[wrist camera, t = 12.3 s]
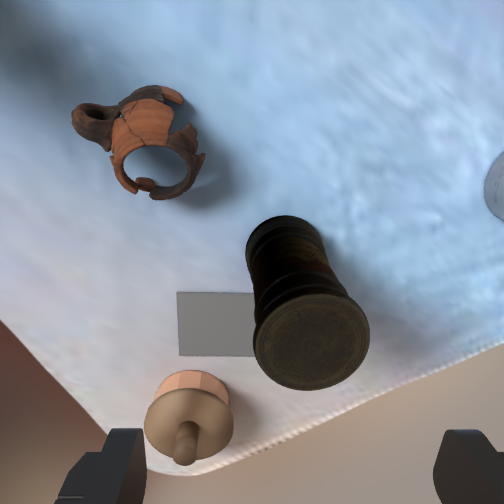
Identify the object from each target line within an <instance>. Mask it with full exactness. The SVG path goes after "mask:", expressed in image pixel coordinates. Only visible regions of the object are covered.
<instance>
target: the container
mask: <svg viewBox="0 0 504 504" xmlns="http://www.w3.org/2000/svg"><path fill="white" fill-rule="evenodd" d="M245 257H246V262H247V267H248V270H249V273H250V276H251V280H252V283H253V290H254V303H255V309H254V320H255V325H256V326H255V330H254V334H253V350H254V354H255V357H256V360H257V362H258V364H259V365H260V367H261V368H262V370H263V371H264V372H265V374H266V375H267V376H268V377H269V378H271V379H272V380H273V381H275V382H276V383H278V384H280V385H282V386H284V387H287V388H290V389H294V390H302V391H312V390H320V389H324V388H328V387H331V386H333V385H336V384H338V383H340V382H342V381H343V380H345V379H346V378H348V377H349V376H350V375H352V374H353V373H354V372H355V371H356V370H357V369H358V367H359V366H360V365H361V363H362V362H363V360H364V359H365V356H366V354H367V351H368V348H369V342H370V329H369V324H368V321H367V318H366V316H365V314H364V312H363V310H362V309H361V307H360V306H359V305H358V304H357V303H356V302H355V301H354V300H353V299H351V298H350V297H349V296H348V294H347V291H346V290H345V288H344V287H343V286H342V284H341V283H340V282H339V280H338V279H337V277H336V275H335V273H334V272H333V270H332V269H331V267H330V265H329V263H328V259H327V256H326V253H325V248H324V245H323V242H322V240H321V237H320V235H319V233H318V232H317V231H316V229H315V228H314V227H313V226H312V225H311V224H309V223H308V222H307V221H305V220H303V219H301V218H298V217H294V216H287V215H283V216H276V217H273V218H270V219H268V220H266V221H264V222H262V223H261V224H260V225H258V226H257V227H256V228H255V229H254V231H253V232H252V233H251V235H250V237H249V239H248V241H247V244H246V251H245Z"/></svg>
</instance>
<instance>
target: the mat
mask: <svg viewBox="0 0 504 504" xmlns="http://www.w3.org/2000/svg"><path fill="white" fill-rule="evenodd" d="M254 309H255V303H254V293H219V292H177V315H178V338H179V356H255V354H254V350H253V334H254V330H255V326H256V325H255V320H254Z"/></svg>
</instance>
